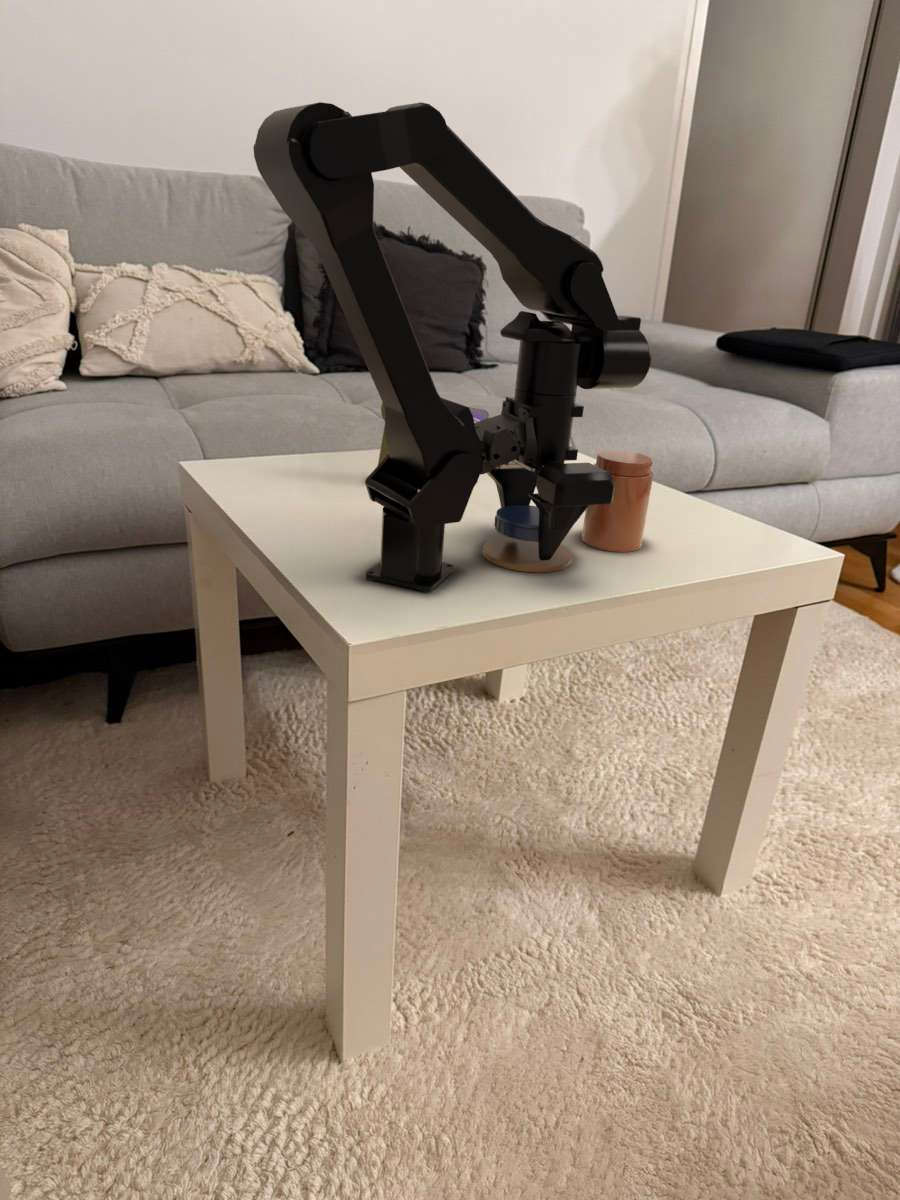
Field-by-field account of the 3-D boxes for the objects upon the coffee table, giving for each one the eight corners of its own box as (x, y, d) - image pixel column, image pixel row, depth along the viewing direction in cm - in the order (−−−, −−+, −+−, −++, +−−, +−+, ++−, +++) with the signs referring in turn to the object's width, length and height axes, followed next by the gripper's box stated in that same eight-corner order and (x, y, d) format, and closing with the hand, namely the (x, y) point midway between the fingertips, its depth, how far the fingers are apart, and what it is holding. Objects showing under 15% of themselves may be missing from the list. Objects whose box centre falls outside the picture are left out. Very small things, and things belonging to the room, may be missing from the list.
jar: (635, 556, 88) (650, 467, 85) (575, 544, 90) (587, 457, 87) (645, 538, 94) (660, 455, 90) (588, 528, 96) (600, 446, 92)
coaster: (558, 579, 81) (559, 573, 80) (469, 561, 83) (470, 555, 83) (580, 551, 88) (581, 546, 88) (498, 535, 91) (499, 530, 91)
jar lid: (524, 516, 89) (526, 501, 89) (579, 534, 85) (581, 518, 84) (479, 527, 85) (481, 511, 84) (535, 546, 80) (537, 530, 79)
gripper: (428, 373, 84) (418, 523, 90) (515, 411, 68) (497, 590, 75) (527, 374, 88) (512, 517, 94) (630, 410, 73) (604, 579, 79)
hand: (527, 547), depth 85 cm, fingers closed on jar lid, 6 cm apart
